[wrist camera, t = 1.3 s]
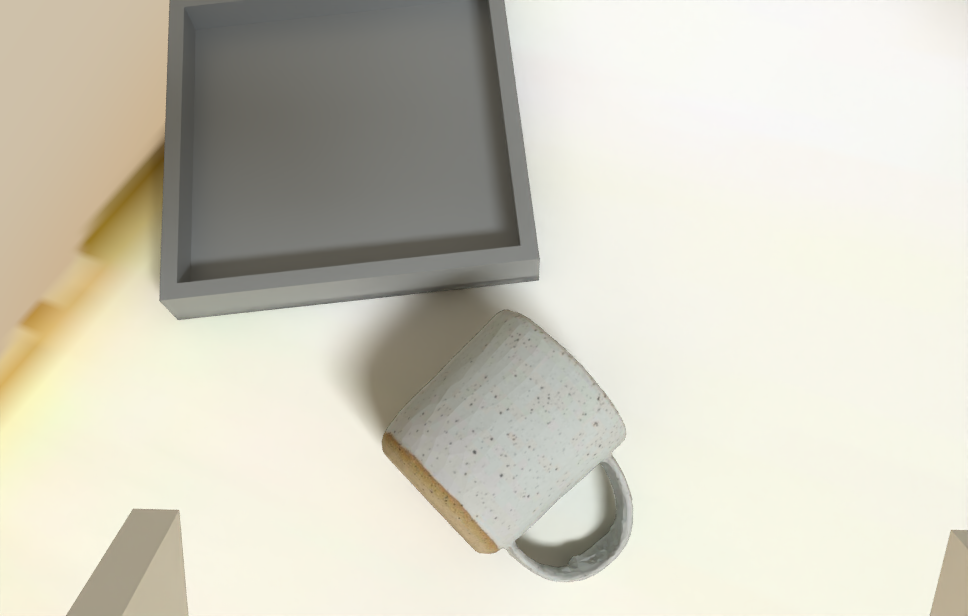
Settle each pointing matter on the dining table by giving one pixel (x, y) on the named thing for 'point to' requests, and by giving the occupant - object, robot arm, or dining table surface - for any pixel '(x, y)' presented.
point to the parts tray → (340, 153)
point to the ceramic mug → (511, 442)
